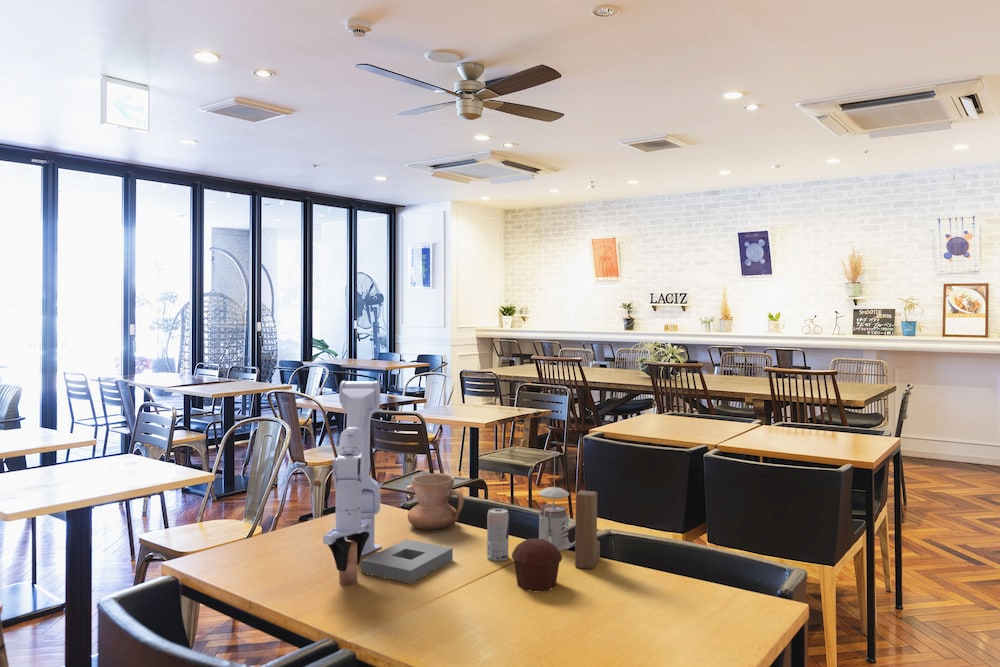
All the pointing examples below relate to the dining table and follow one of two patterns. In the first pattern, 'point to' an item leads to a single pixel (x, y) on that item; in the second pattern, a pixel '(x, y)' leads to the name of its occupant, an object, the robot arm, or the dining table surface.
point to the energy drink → (497, 534)
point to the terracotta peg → (350, 566)
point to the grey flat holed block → (407, 560)
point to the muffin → (536, 564)
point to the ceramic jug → (434, 502)
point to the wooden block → (586, 530)
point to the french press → (554, 517)
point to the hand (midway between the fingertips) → (348, 567)
